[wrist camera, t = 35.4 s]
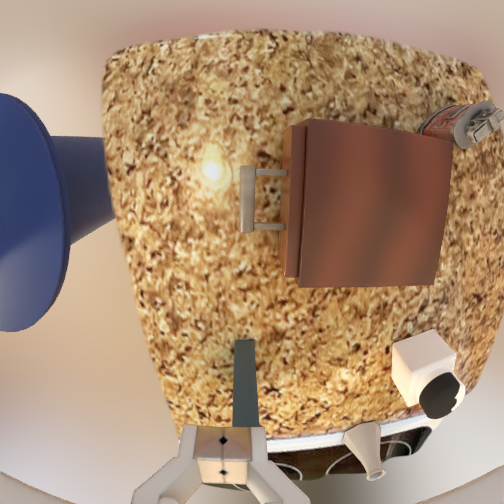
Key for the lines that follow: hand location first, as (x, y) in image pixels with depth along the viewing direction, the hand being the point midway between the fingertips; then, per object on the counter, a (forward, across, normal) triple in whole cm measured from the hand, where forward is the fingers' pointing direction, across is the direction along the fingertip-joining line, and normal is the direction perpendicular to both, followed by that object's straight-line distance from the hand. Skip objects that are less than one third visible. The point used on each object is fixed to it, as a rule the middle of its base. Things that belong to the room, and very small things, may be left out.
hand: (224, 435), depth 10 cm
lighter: (+25, -24, -16) cm, 38 cm away
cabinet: (+25, -13, -6) cm, 29 cm away
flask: (+25, -22, +34) cm, 48 cm away
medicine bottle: (+25, -26, +16) cm, 40 cm away
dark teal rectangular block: (+25, -1, +16) cm, 30 cm away
